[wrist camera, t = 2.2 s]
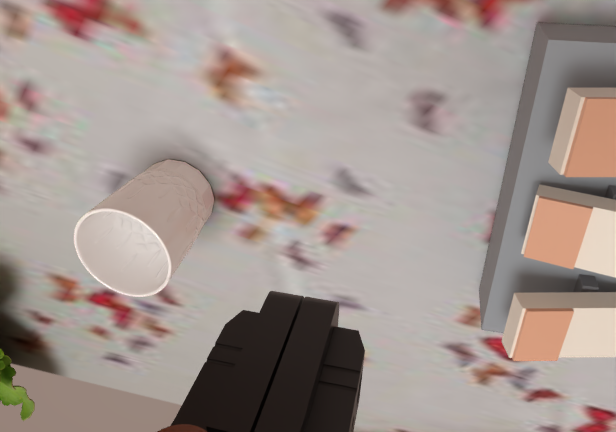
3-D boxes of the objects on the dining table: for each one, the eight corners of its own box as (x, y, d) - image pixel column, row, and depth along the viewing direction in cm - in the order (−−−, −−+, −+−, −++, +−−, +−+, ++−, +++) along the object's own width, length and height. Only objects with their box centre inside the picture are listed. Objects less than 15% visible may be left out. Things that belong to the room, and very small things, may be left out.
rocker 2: (726, 222, 30) (731, 238, 29) (697, 283, 32) (700, 302, 31) (539, 184, 34) (535, 197, 32) (524, 241, 36) (520, 255, 35)
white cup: (168, 134, 45) (102, 188, 37) (238, 196, 46) (190, 261, 38) (124, 189, 49) (56, 249, 41) (190, 244, 51) (137, 313, 42)
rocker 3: (661, 291, 36) (679, 310, 34) (640, 340, 38) (655, 359, 36) (514, 292, 36) (524, 311, 34) (501, 340, 38) (510, 360, 36)
